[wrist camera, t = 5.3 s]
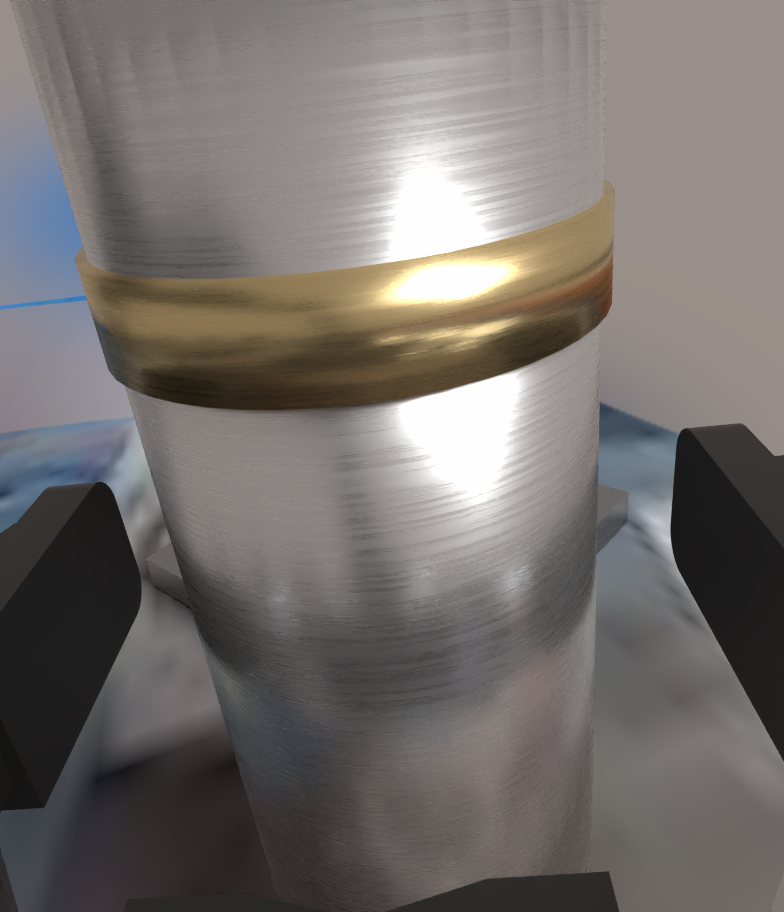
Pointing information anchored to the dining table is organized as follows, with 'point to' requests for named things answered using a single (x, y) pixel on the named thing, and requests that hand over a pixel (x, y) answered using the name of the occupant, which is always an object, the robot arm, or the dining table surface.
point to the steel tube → (363, 399)
